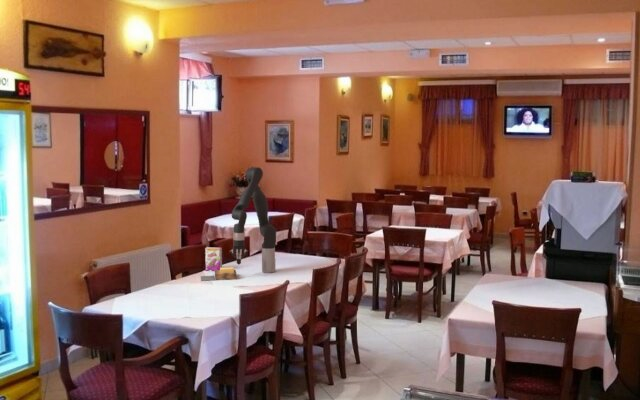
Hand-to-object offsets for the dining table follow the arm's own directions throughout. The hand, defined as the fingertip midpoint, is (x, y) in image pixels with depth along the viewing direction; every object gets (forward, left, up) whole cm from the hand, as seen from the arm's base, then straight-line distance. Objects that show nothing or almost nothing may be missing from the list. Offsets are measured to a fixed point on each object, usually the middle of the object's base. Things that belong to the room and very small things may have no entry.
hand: (238, 264), depth 427 cm
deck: (+9, 0, -9) cm, 13 cm away
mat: (+21, 0, -9) cm, 23 cm away
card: (+8, 0, -5) cm, 9 cm away
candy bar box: (+16, -26, -9) cm, 32 cm away
